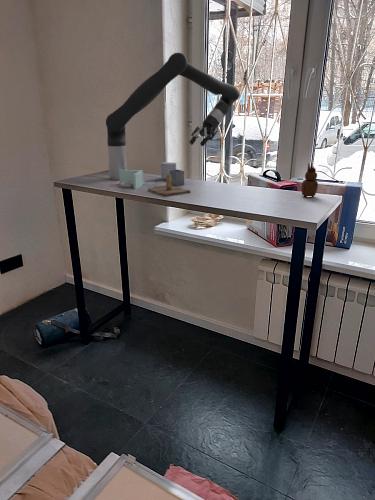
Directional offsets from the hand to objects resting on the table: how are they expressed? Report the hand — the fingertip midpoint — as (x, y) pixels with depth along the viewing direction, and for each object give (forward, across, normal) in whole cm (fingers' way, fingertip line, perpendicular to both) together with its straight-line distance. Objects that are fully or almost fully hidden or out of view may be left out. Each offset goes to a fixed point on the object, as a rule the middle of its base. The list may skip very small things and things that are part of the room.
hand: (195, 144), depth 187 cm
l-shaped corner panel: (+38, -11, -10) cm, 41 cm away
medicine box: (+18, -15, +9) cm, 25 cm away
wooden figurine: (0, +55, +28) cm, 62 cm away
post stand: (+31, +11, -4) cm, 33 cm away
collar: (+22, 0, +5) cm, 23 cm away
